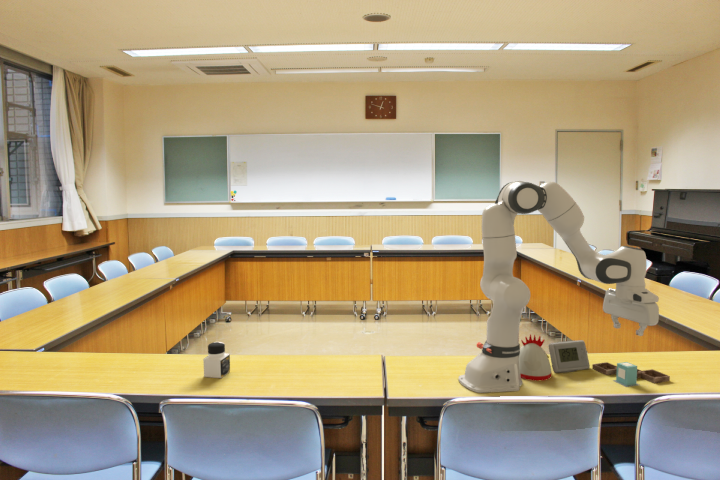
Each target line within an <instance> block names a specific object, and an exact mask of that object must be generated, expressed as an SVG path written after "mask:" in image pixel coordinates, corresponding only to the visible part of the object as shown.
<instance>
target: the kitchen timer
mask: <svg viewBox="0 0 720 480" xmlns="http://www.w3.org/2000/svg"><path fill="white" fill-rule="evenodd" d="M521 343H522V346H520V354H519V368H520V374H521V379H522V380H523V379H524V380H529V381H535V380H536V381H537V382H540V381H539V380H541V381H546V379H547V380H549V378H550V377H551V378H552V365H551V364H550V363H551V361H550V355H549V354H547V353H546V351H545V350H544V349H543V347H542V346H543V344H544V343H545V339H541V335H539V337H538V338H536V334H534V336H533V339H532V334H531V333H530V334H529V338H528V337H527V336H525V342H524V340H523V339H521ZM536 381H535V382H536Z"/></svg>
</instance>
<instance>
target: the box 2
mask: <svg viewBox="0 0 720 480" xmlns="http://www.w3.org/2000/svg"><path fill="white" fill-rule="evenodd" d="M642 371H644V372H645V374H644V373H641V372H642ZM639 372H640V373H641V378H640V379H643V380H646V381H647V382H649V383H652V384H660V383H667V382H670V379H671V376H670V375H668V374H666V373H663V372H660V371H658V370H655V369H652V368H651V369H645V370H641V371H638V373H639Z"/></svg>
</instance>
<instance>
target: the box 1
mask: <svg viewBox="0 0 720 480" xmlns="http://www.w3.org/2000/svg"><path fill="white" fill-rule="evenodd" d="M591 367H592V370H594V371H596V372H598V373H601V374H603V375H604V376H611V375H612V376H613V375H617V369H615V368H616V367H617V365H615V364H613V363H610V362H608V361H607V362H606V361H605V362H601V363H600V362H599V363H592V366H591Z"/></svg>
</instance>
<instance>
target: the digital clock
mask: <svg viewBox="0 0 720 480" xmlns="http://www.w3.org/2000/svg"><path fill="white" fill-rule="evenodd" d="M548 351H549V358H550V363H551V369H552V372H554V373H556V374H557V373H558V374H559V373H563V374H565V373H572V372H577V371H583V370H589V369H590V365H591V364H590V361H589V356H588V351H587V346H586V343H585V340H583V339H581V340H578V339H577V340H566V341H557V342H551V343H549V344H548Z"/></svg>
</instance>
